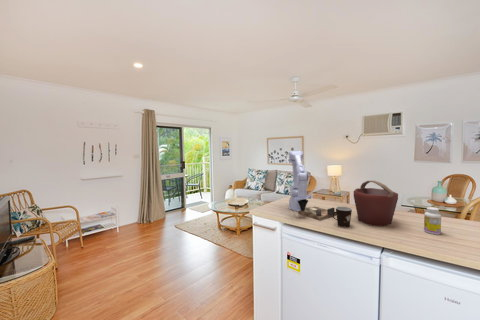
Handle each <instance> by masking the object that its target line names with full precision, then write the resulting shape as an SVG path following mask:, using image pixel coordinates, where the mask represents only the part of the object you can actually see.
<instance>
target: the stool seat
mask: <svg viewBox="0 0 480 320" xmlns="http://www.w3.org/2000/svg"><path fill="white" fill-rule="evenodd" d="M310 207H311V206H310ZM311 208H315V209H317V215H315V214H311V213H308V212H305V211H301V210H300V211H297V212H298V213H297V214H299V215H301V216H303V217H304V216H305V217H308V218H310V219H314V220H318V221H320V222H321V221H323V220H326V219H330V218H333V213H334V212H336V207H329V208H327V209H326V208H322V207H319V206H312V207H311ZM334 217H337V215H336V213H335V214H334Z"/></svg>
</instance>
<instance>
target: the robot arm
mask: <svg viewBox="0 0 480 320" xmlns="http://www.w3.org/2000/svg"><path fill="white" fill-rule="evenodd" d="M303 160H304V151H303V150H289V152H288V161H289V163H290V164H291V166H292V178H293V180H292V181H293V185H291V186H290V189H289V190H290V191H289V192H290V193H289V195H290V197H289V199H288V203H289V204H288V205H289V208H288V209H289V210H292V211H295V212H298V211H300V210H301V211H305V207H306V206H307V204H308V203H309V200H310V199H312V195H310V194H309V195H308V180H309V174H308V172H307V171H306V169H305V165H304V164H303V162H302V161H303Z"/></svg>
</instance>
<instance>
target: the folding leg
mask: <svg viewBox="0 0 480 320" xmlns="http://www.w3.org/2000/svg"><path fill="white" fill-rule="evenodd" d="M305 212H308V213H311V214H315V215H317V209H315V208H311V206H307V205H306V207H305Z"/></svg>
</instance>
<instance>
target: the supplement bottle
mask: <svg viewBox="0 0 480 320" xmlns="http://www.w3.org/2000/svg"><path fill="white" fill-rule="evenodd" d="M439 212H440V209H439V208H437V207H431V206H430V207H426V212H424V216H423V219H424V221H423V231H424V232H426V233H428V234H432V235H440V234H441V233H442V215H441V214H440V213H439Z"/></svg>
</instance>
